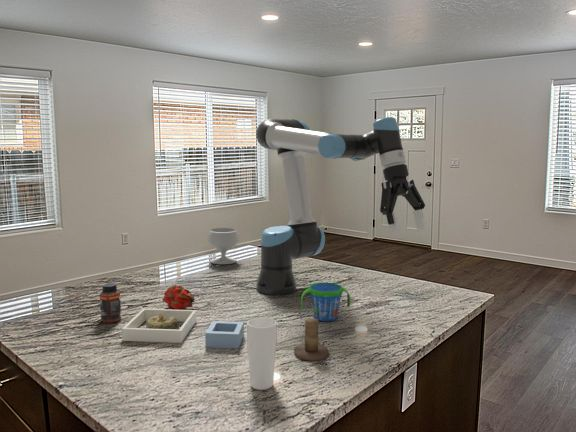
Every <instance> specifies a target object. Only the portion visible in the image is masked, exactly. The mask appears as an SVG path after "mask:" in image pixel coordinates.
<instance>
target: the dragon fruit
mask: <svg viewBox="0 0 576 432" xmlns="http://www.w3.org/2000/svg"><path fill="white" fill-rule="evenodd" d="M163 295H164V296H163V298H162V300H161V301H162V302H163V303H164V302H165V303H166V304H167V305H166V306H167V307H168V309H170V310H173V309H174V310H184V309H185V308H192V307H193V305H194V304H195V303H196V302H195V296H194V295H193V294H192V292H191V291H190V290H189V289H186V288H184V287H183V286H181V285H176V284H175V285H173V286H169V287H168V288H167V290H165V292H164V294H163Z"/></svg>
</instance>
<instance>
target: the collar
mask: <svg viewBox="0 0 576 432" xmlns="http://www.w3.org/2000/svg"><path fill="white" fill-rule="evenodd" d="M244 322H245V321H223V320H221V321H219V320H218V321H217V320H212V321H211V322H210V325H209V327H207V329H206V331H205V333H204V335H205V336H204V337H205V339H204V340H205V348H216V349H217V348H218V349H219V348H220V349H240V346H241V345H242V341H243V338H244V336H245V333H244V332H245V330H244V328H245V327H244V325H245V323H244Z"/></svg>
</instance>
